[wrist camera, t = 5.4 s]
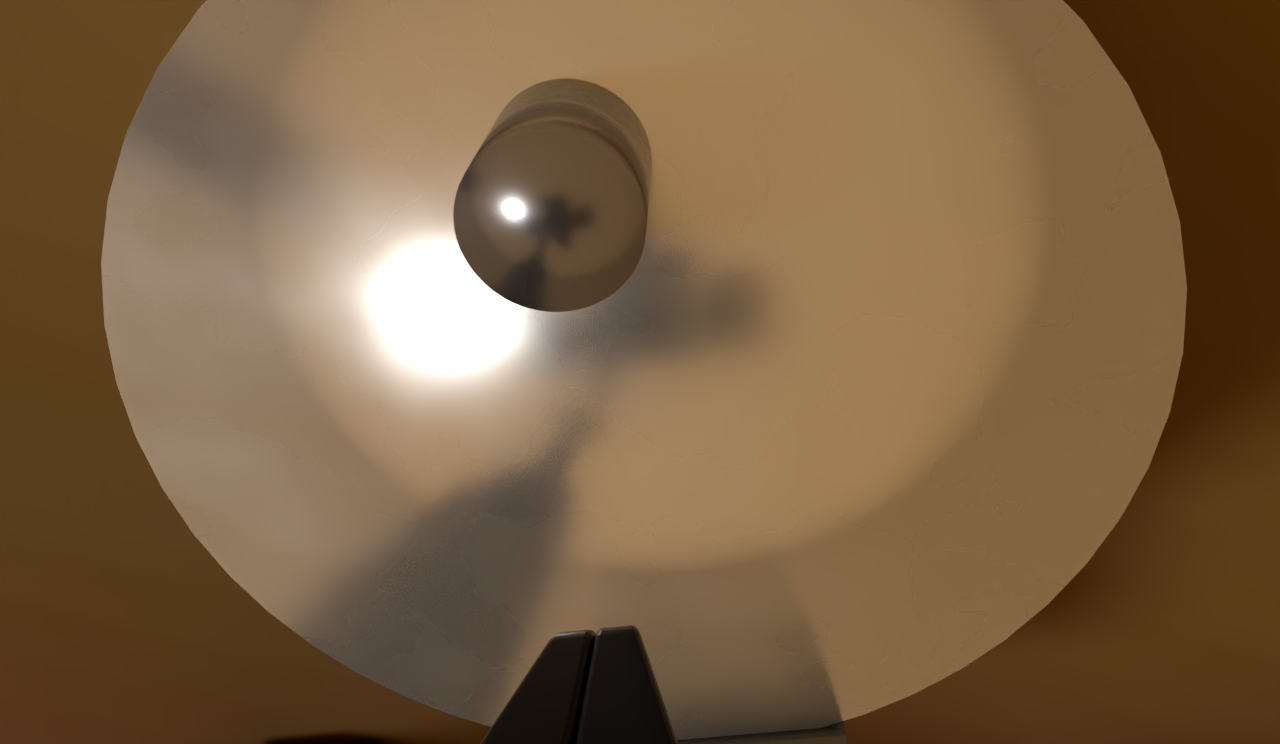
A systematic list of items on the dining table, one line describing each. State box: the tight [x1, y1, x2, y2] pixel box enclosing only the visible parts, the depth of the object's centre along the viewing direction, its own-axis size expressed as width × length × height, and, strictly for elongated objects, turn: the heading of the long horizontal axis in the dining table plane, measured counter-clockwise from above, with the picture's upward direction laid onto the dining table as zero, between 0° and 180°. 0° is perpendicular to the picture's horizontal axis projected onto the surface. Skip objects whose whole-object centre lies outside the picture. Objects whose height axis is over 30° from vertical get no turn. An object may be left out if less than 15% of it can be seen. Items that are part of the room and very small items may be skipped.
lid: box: [101, 0, 1187, 744], centre depth 14 cm, size 18×15×3 cm
